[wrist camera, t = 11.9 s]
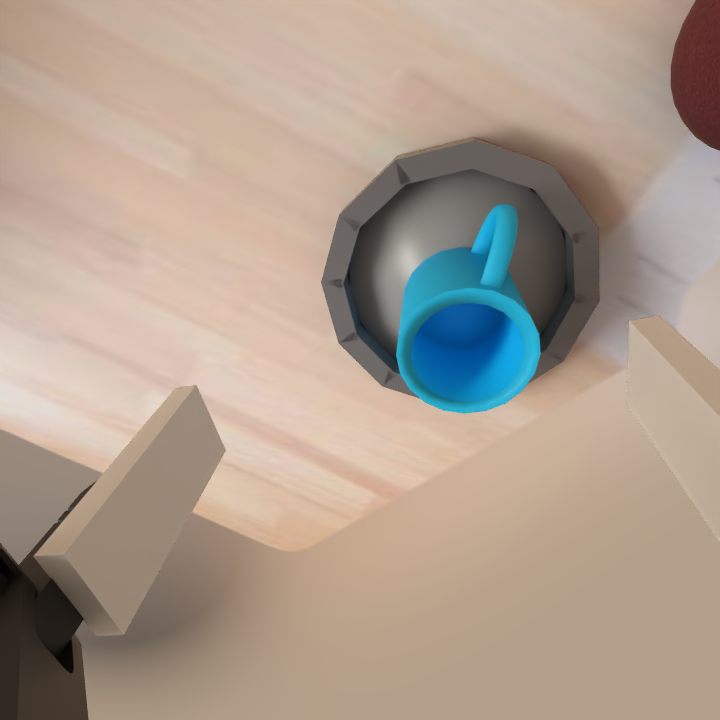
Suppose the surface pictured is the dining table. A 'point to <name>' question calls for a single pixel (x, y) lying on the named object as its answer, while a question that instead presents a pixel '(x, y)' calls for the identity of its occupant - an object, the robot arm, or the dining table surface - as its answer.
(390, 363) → the holder ring
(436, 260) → the mug
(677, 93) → the decorative ball
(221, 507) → the dining table surface
